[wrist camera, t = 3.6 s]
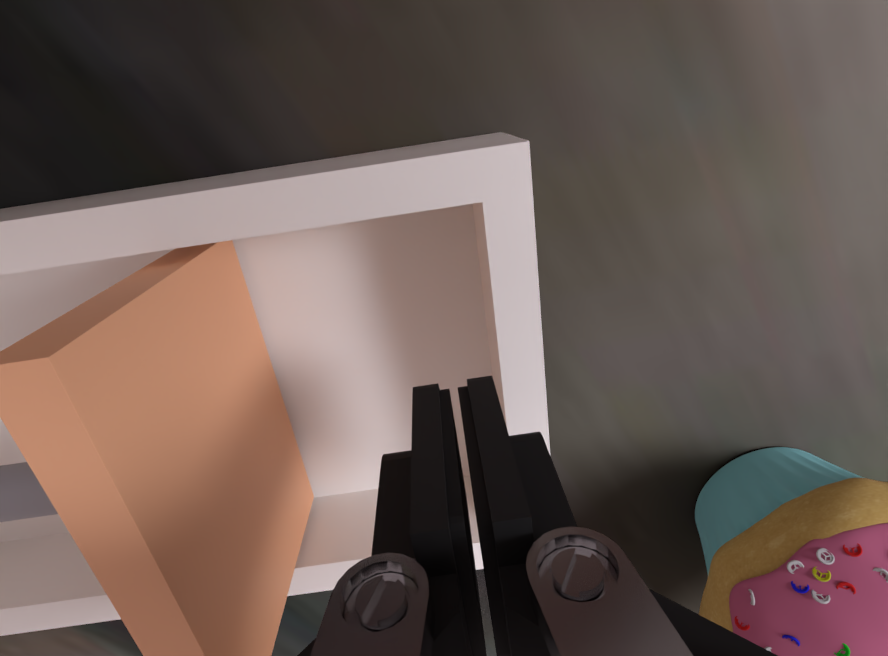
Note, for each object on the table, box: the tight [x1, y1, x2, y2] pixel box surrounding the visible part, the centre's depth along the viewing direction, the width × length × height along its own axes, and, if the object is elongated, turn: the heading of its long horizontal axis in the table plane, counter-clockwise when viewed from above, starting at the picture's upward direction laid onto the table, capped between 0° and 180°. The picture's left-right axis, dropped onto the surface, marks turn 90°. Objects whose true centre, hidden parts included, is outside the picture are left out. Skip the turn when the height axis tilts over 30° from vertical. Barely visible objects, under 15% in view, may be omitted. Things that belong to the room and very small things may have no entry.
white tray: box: [0, 132, 550, 636], centre depth 13 cm, size 19×11×4 cm, turn 98°
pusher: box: [0, 240, 314, 656], centre depth 11 cm, size 7×8×7 cm
